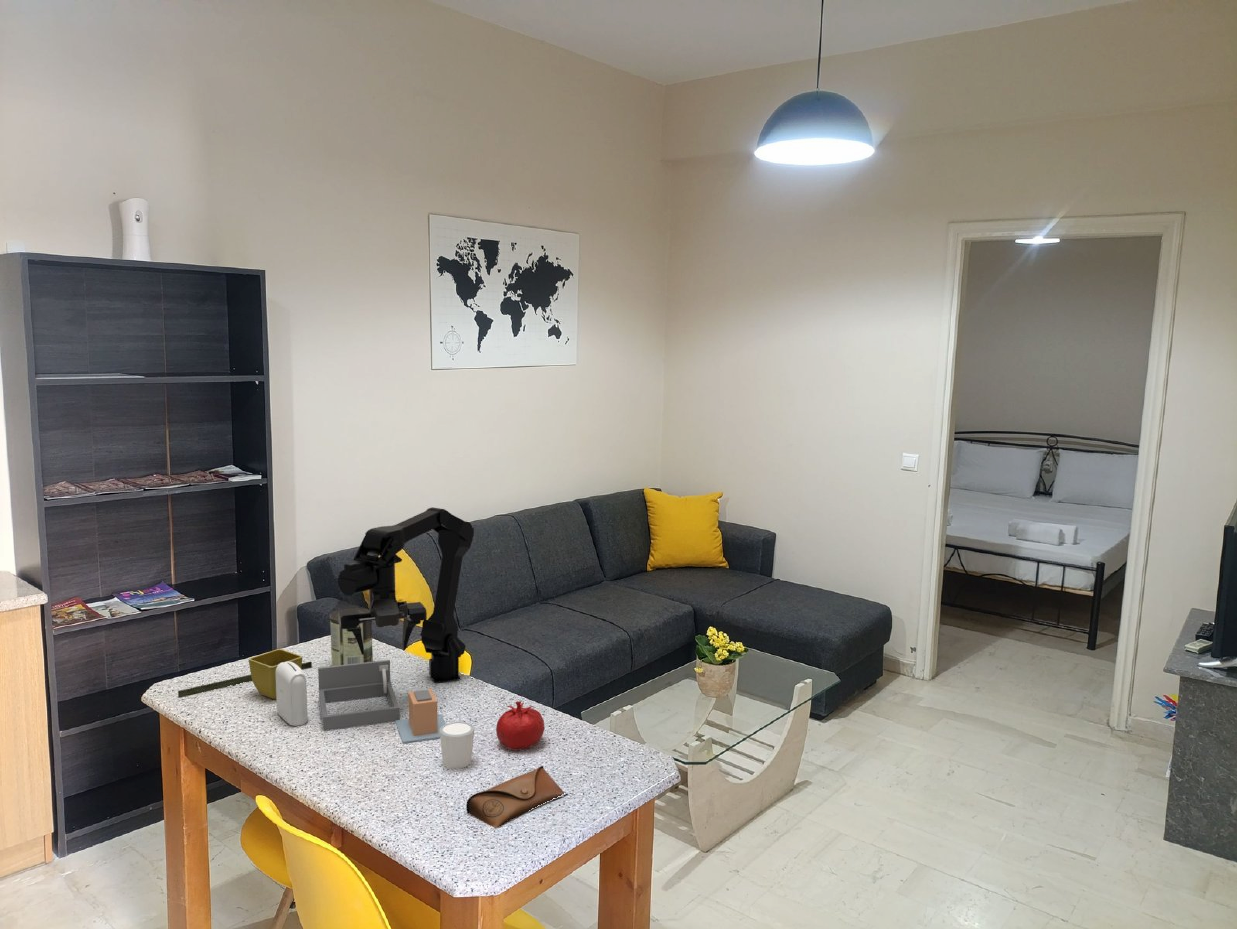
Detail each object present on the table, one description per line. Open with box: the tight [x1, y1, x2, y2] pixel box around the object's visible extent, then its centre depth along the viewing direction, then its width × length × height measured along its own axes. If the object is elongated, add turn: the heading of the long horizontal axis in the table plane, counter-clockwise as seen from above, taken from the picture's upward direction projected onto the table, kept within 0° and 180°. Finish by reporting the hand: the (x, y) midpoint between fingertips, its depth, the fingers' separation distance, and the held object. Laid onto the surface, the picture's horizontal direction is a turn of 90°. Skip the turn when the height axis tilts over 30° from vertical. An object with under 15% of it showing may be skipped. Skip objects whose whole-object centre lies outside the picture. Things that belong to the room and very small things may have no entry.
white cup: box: [439, 721, 475, 769], centre depth 175 cm, size 7×7×7 cm
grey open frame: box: [317, 659, 401, 732], centre depth 198 cm, size 16×17×8 cm
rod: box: [177, 661, 313, 699], centre depth 214 cm, size 31×1×2 cm, turn 131°
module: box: [408, 688, 439, 736], centre depth 189 cm, size 5×7×7 cm
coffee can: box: [329, 607, 374, 666], centre depth 223 cm, size 10×10×14 cm
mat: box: [395, 713, 447, 744], centre depth 190 cm, size 10×11×1 cm
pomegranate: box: [495, 701, 545, 751], centre depth 184 cm, size 10×10×9 cm
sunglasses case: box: [465, 765, 565, 829], centre depth 161 cm, size 18×7×7 cm, turn 137°
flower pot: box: [248, 648, 303, 700], centre depth 206 cm, size 9×9×9 cm
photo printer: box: [276, 661, 309, 727], centre depth 193 cm, size 10×4×12 cm, turn 39°
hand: (383, 651), depth 200 cm, fingers open, 9 cm apart
